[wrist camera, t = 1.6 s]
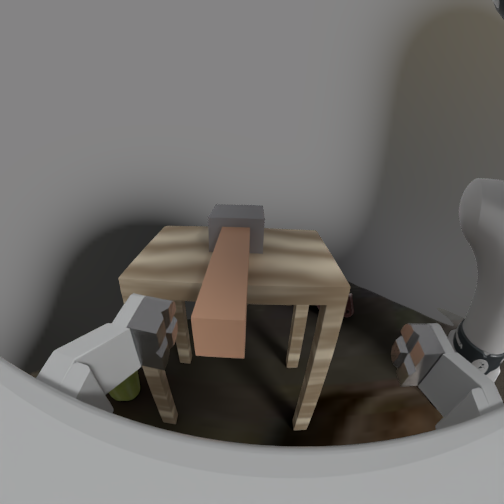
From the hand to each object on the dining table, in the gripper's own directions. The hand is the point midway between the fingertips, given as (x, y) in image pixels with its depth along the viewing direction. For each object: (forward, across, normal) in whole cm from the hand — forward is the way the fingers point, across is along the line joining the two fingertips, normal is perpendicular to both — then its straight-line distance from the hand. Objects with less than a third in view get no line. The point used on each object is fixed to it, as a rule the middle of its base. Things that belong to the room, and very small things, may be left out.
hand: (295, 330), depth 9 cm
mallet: (+16, +4, +8) cm, 18 cm away
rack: (+18, +2, +35) cm, 39 cm away
